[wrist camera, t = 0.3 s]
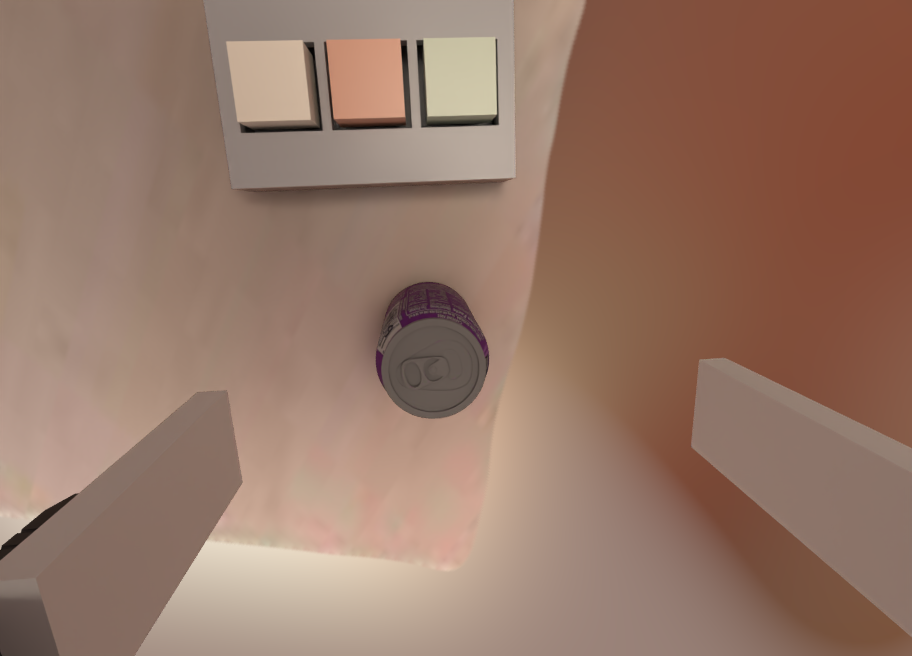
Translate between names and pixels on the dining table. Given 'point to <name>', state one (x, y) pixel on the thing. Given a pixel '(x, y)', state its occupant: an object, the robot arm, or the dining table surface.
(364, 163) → the keypad
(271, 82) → the key cream
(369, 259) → the dining table surface
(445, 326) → the beverage can
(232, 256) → the dining table surface
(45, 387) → the dining table surface
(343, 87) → the key terracotta
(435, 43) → the key sage
